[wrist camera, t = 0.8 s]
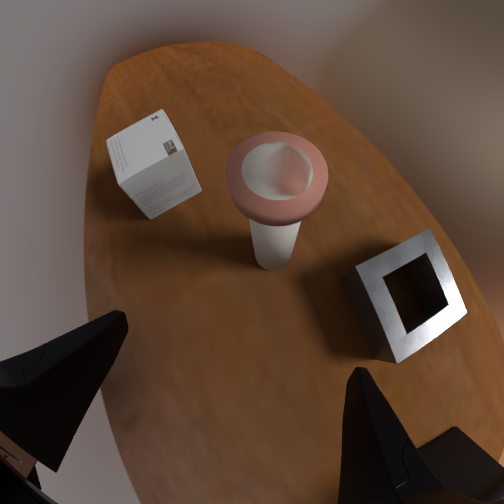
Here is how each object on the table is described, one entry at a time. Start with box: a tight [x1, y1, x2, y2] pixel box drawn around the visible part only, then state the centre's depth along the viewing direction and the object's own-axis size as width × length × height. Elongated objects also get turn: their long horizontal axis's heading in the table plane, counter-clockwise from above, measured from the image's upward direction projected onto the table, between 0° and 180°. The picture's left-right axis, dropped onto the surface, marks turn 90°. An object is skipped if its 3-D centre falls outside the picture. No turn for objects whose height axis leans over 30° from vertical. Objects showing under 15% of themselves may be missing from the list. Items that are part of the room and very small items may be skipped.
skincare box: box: [106, 110, 202, 219], centre depth 24 cm, size 6×6×7 cm
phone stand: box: [418, 427, 504, 503], centre depth 11 cm, size 9×6×12 cm, turn 14°
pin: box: [226, 131, 328, 271], centre depth 18 cm, size 5×5×13 cm
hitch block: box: [341, 228, 467, 364], centre depth 20 cm, size 8×8×4 cm
